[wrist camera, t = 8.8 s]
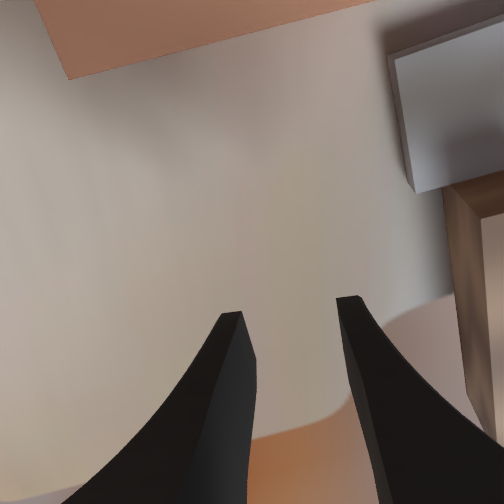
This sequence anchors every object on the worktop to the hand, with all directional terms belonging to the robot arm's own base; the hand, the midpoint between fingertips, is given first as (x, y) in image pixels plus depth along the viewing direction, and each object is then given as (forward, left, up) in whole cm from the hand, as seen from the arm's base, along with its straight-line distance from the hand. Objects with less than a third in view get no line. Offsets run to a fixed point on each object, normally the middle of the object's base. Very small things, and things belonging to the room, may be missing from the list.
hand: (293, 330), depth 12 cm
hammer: (-8, +4, -7) cm, 11 cm away
